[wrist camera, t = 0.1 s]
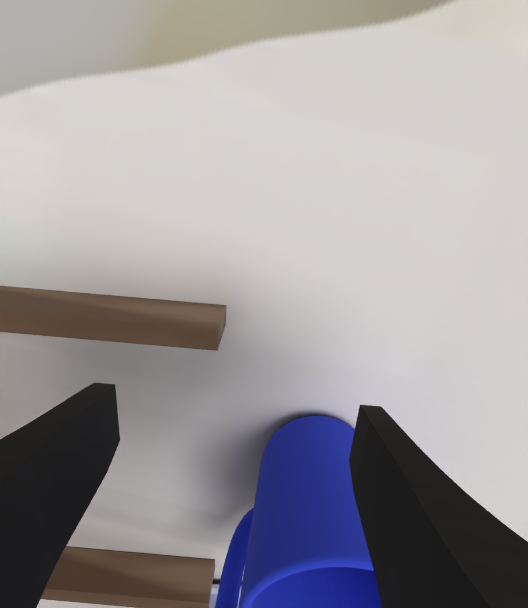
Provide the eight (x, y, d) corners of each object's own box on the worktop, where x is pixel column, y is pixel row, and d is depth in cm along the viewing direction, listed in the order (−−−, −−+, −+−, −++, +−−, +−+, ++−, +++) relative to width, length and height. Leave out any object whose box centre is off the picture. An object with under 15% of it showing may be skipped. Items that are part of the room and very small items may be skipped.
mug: (189, 479, 26) (139, 661, 17) (318, 374, 22) (346, 529, 13) (273, 540, 28) (271, 732, 19) (404, 451, 24) (482, 635, 15)
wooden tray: (214, 570, 29) (207, 613, 27) (8, 551, 29) (-20, 593, 27) (226, 305, 21) (218, 328, 18) (-63, 280, 21) (-115, 300, 18)
